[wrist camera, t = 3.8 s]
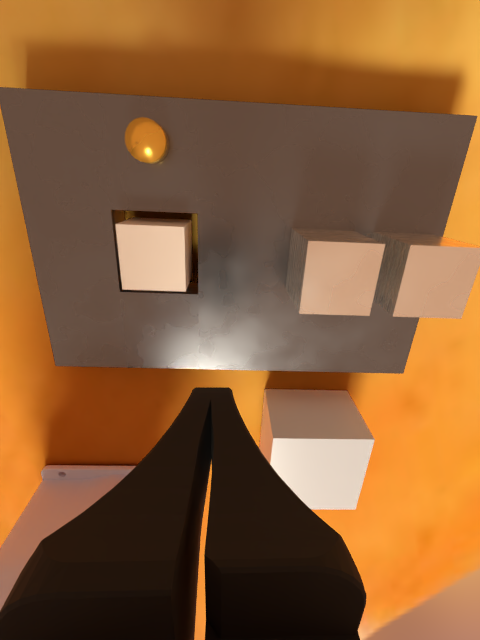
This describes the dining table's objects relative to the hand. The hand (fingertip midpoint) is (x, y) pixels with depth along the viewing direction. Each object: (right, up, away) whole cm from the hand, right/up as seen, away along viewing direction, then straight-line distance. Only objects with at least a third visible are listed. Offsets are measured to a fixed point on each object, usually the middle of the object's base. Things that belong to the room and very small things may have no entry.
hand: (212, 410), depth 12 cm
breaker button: (-3, +7, +6) cm, 10 cm away
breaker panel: (+1, +7, +6) cm, 9 cm away
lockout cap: (+5, -4, +11) cm, 13 cm away
